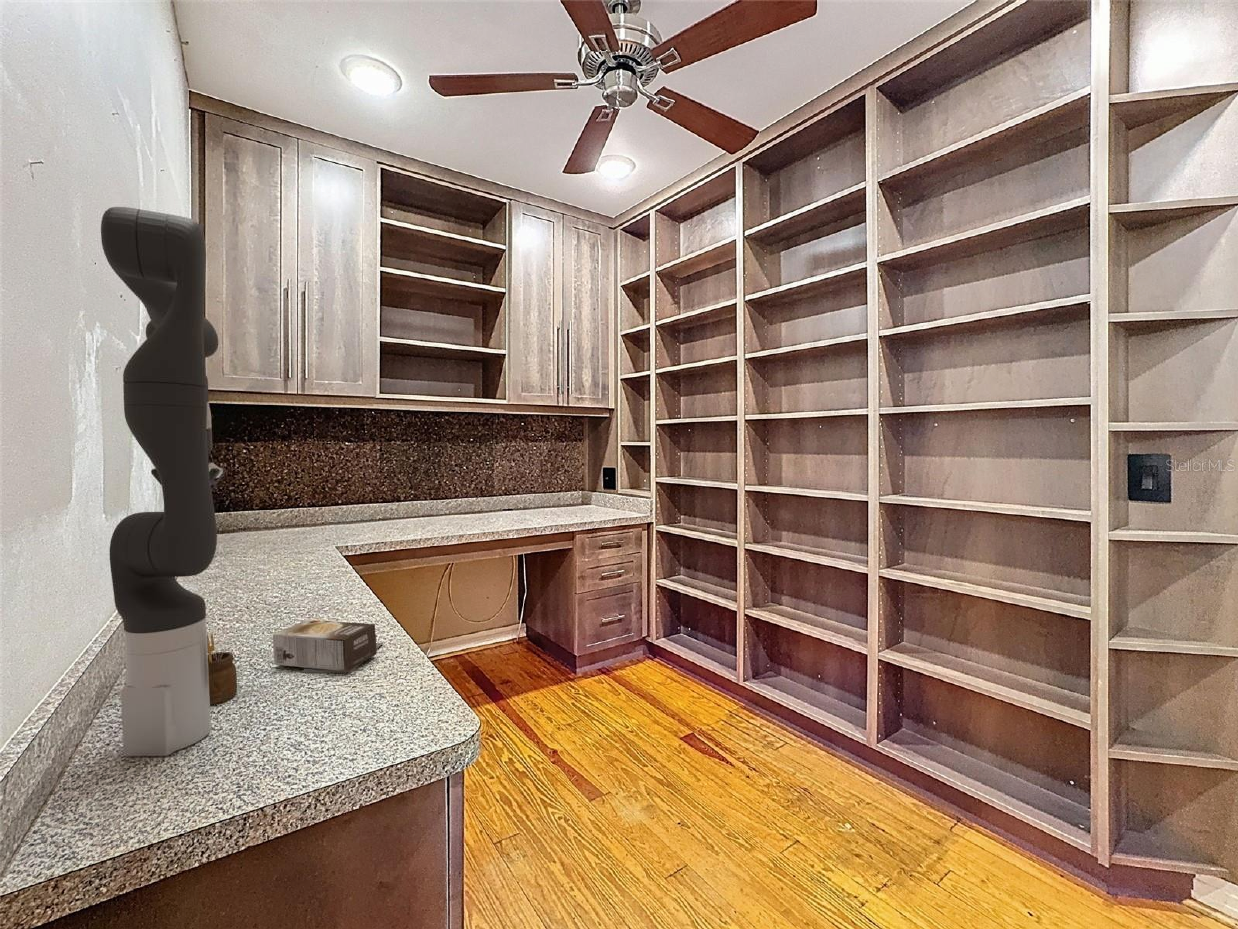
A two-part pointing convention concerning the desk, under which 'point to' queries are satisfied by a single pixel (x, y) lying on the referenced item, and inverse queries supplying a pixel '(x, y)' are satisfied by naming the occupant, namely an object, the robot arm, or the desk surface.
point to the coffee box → (325, 645)
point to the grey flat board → (314, 670)
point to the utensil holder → (220, 673)
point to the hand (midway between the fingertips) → (190, 517)
